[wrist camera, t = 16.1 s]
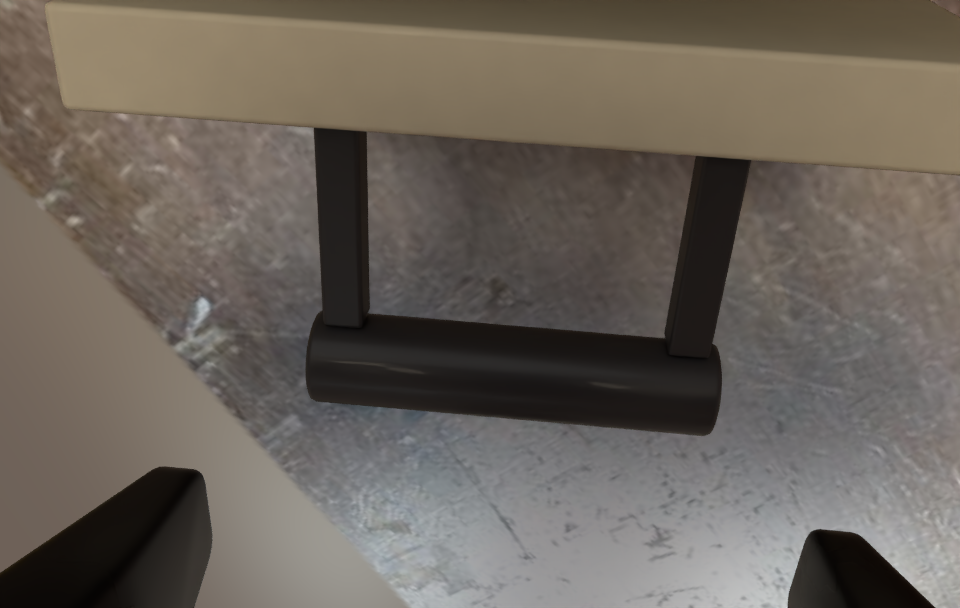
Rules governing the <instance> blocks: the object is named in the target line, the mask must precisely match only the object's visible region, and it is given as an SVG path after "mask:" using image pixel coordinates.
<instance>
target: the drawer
mask: <svg viewBox="0 0 960 608" xmlns="http://www.w3.org/2000/svg"><path fill="white" fill-rule="evenodd" d="M45 15H46V20H47V25H48V30H49V35H50V41H51V46H52V51H53V56H54V61H55V66H56V72H57V77H58V82H59V87H60V92H61V98H62V103H63V105H64V106H65V108H68V109H71V110H83V111H96V112H110V113H123V114H137V115H150V116H164V117H177V118H191V119H204V120H218V121H232V122H245V123H259V124H272V125H286V126H299V127H313V128H314V142H315V162H316V183H317V203H318V224H319V244H320V265H321V286H322V306H323V311H320V312H319V313H318V314H317V316H316V318H315V320H314V322H313V325H312V328H311V331H310V335H309V340H308V346H307V354H306V384H307V389H308V393H309V396H310V398H311V399H313V400H315V401H318V402H329V403H340V404H351V405H362V406H373V407H385V408H396V409H407V410H418V411H429V412H440V413H452V414H463V415H474V416H485V417H496V418H507V419H518V420H530V421H541V422H552V423H563V424H574V425H585V426H597V427H608V428H619V429H630V430H641V431H652V432H664V433H675V434H686V435H697V436H705V435H708V434H710V433H711V432H712V430H713V428H714V425H715V423H716V420H717V417H718V412H719V407H720V400H721V389H722V368H721V360H720V355H719V352H718V349H717V347H716V345H714V344H712V343H713V338H714V334H715V329H716V324H717V320H718V315H719V310H720V305H721V301H722V296H723V291H724V286H725V282H726V277H727V272H728V268H729V263H730V258H731V253H732V249H733V244H734V239H735V235H736V230H737V225H738V220H739V216H740V211H741V206H742V201H743V197H744V192H745V187H746V183H747V178H748V173H749V168H750V164H751V160H758V161H772V162H785V163H799V164H812V165H826V166H839V167H853V168H866V169H880V170H893V171H907V172H920V173H934V174H948V175H960V17H958V16H956V15H954V14H953V13H951V12H949V11H947V10H946V9H944V8H942V7H940V6H938V5H937V4H935V3H933V2H931V1H930V0H53V1H50V2H48V3H46V5H45ZM367 132H380V133H394V134H407V135H421V136H434V137H448V138H461V139H475V140H488V141H502V142H515V143H529V144H542V145H556V146H569V147H583V148H596V149H610V150H623V151H637V152H650V153H664V154H677V155H691V156H696V159H695V165H694V170H693V176H692V181H691V187H690V193H689V198H688V204H687V209H686V215H685V221H684V226H683V232H682V237H681V243H680V249H679V254H678V260H677V265H676V271H675V277H674V282H673V288H672V293H671V299H670V305H669V310H668V316H667V322H666V327H665V333H664V334H665V338H655V337H643V336H631V335H619V334H607V333H595V332H584V331H572V330H560V329H548V328H536V327H524V326H512V325H501V324H489V323H477V322H465V321H453V320H441V319H429V318H418V317H406V316H394V315H382V314H370V313H368V311H369V309H370V293H369V237H368V180H367Z"/></svg>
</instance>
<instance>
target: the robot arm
mask: <svg viewBox="0 0 960 608" xmlns="http://www.w3.org/2000/svg"><path fill="white" fill-rule="evenodd" d="M211 548H212V527H211V520H210V513H209V506H208V499H207V493H206V484H205V480H204V478H203V475H202V474H201V473H200V472H199V471H197V470H194V469H186V468H175V467H158V468H155V469H153V470H151V471H150V472H148V473H147V474H146V475H144V476H142V477H141V478H139V479H138V480H136V481H135V482H133V483H132V484H131V485H129V486H128V487H126V488H125V489H123V490H122V491H120V492H119V493H117V494H116V495H114V496H113V497H111V498H110V499H108V500H107V501H105V502H104V503H103V504H101V505H100V506H98V507H97V508H95V509H94V510H92V511H91V512H89V513H88V514H86V515H85V516H83V517H82V518H80V519H79V520H77V521H76V522H75V523H73V524H72V525H70V526H69V527H67V528H66V529H64V530H63V531H61V532H60V533H58V534H57V535H55V536H54V537H52V538H51V539H50V540H48V541H46V542H45V543H44V544H42V545H41V546H39V547H38V548H36V549H35V550H33V551H32V552H30V553H29V554H27V555H26V556H24V557H23V558H21V559H20V560H18V561H17V562H16V563H14V564H13V565H11V566H10V567H8V568H7V569H5V570H4V571H2V572H1V573H0V608H194V606H195V603H196V600H197V597H198V594H199V590H200V587H201V584H202V581H203V577H204V574H205V571H206V568H207V564H208V561H209V558H210V553H211ZM788 608H935V607H934V606H933V605H932V604H931V603H930V602H929V601H928V600H927V599H926V598H925V597H924V596H923V595H922V594H921V593H919V592H918V591H917V590H916V589H915V588H914V587H913V586H912V585H911V584H910V583H909V582H908V581H907V580H906V579H905V578H904V577H903V576H902V575H901V574H900V573H899V572H898V571H897V570H896V569H895V568H894V567H893V566H892V565H891V564H890V563H889V562H887V561H886V560H885V559H884V558H883V557H882V556H881V555H880V554H879V553H878V552H877V551H876V550H875V549H874V548H873V547H872V546H871V545H870V544H869V543H868V542H867V541H866V540H865V539H863V538H862V537H861V536H859V535H858V534H855V533H852V532H843V531H833V530H822V529H817V530H814V531H812V532H810V534H809V535H808V536H807V538H806V540H805V543H804V546H803V549H802V553H801V556H800V559H799V562H798V565H797V568H796V571H795V575H794V578H793V581H792V584H791V587H790V591H789V596H788Z"/></svg>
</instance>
